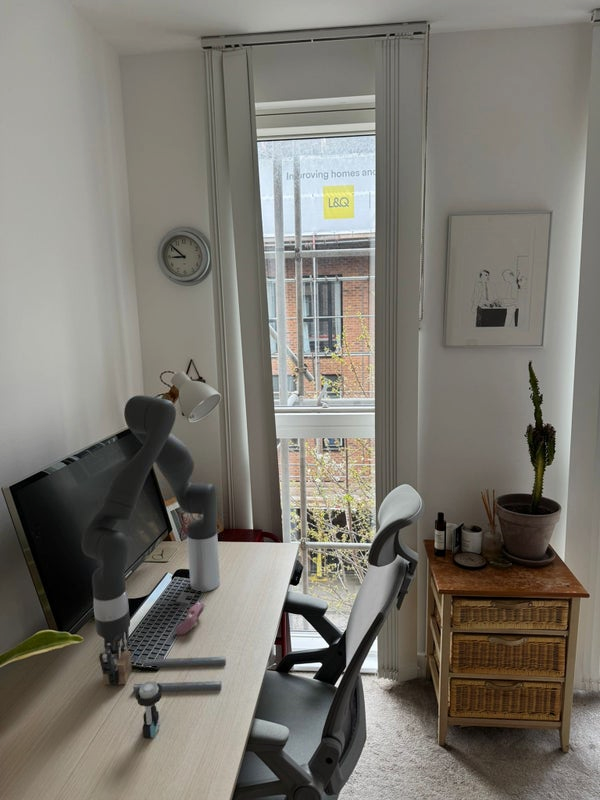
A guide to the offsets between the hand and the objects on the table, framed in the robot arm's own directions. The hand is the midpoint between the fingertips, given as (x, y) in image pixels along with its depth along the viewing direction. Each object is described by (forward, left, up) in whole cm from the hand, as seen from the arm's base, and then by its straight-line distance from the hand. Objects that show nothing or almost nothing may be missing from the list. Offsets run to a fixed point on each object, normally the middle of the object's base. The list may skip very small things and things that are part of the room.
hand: (118, 674), depth 127 cm
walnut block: (0, 0, -1) cm, 1 cm away
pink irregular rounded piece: (-20, +14, -1) cm, 24 cm away
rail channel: (0, +15, -1) cm, 15 cm away
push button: (+15, +12, -1) cm, 19 cm away
